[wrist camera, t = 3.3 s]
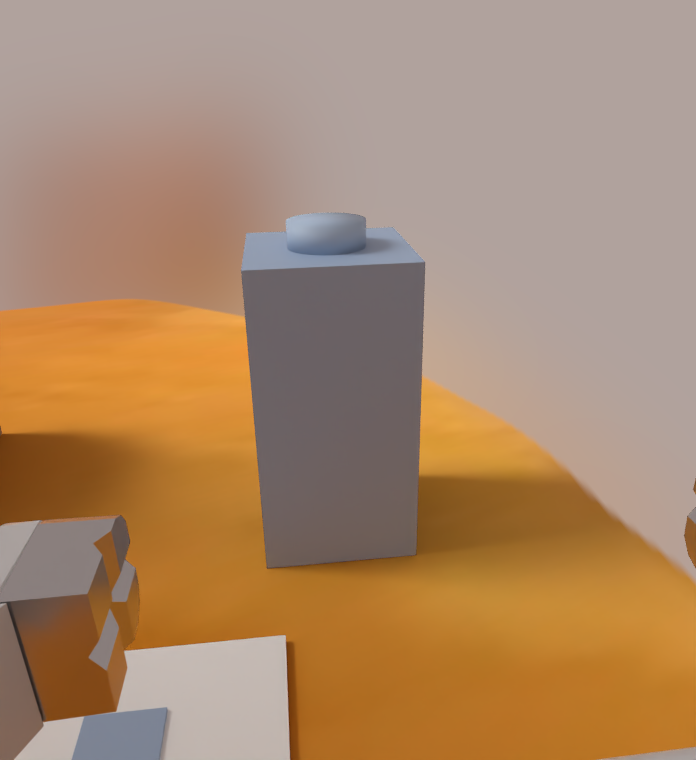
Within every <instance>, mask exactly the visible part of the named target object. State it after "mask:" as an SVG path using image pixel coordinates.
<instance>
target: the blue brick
mask: <svg viewBox="0 0 696 760" xmlns="http://www.w3.org/2000/svg"><path fill="white" fill-rule="evenodd" d="M241 273H242V285H243V297H244V308H245V320H246V332H247V343H248V355H249V366H250V378H251V390H252V401H253V413H254V424H255V436H256V448H257V459H258V471H259V482H260V494H261V505H262V517H263V529H264V540H265V552H266V563H267V568H277V567H289V566H300V565H311V564H322V563H333V562H344V561H355V560H367V559H378V558H389V557H400V556H411V555H416V545H417V513H418V480H419V447H420V415H421V382H422V349H423V317H424V284H425V261H424V260H423V259H422V258H421V257H420V256H419V255H418V254H417V253H416V252H415V251H414V249H413V248H412V247H411V246H410V245H409V244H408V243H407V242H406V241H405V240H404V239H403V238H402V236H400V234H399V233H398V232H397V231H396V230H395V229H394V228H393V227H389V228H366V218H365V217H363V216H360V215H356V214H348V213H313V214H304V215H298V216H294V217H291V218H288V219H287V220H286V232H266V233H247V234H246V241H245V247H244V254H243V262H242V269H241Z"/></svg>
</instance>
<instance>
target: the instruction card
mask: <svg viewBox="0 0 696 760" xmlns="http://www.w3.org/2000/svg"><path fill="white" fill-rule="evenodd" d="M124 653H125V658H126V663H127V667H128V668H127V672H126V675H125V679H124V683H123V687H122V691H121V695H120V699H119V703H118V707H117V711H116V712H111V713H104V714H97V715H90V716H83V717H76V718H69V719H62V720H55V721H48V722H43V725H44V726H43V728H42V729H41V730H40V731H39V732H38V733H37V734H36V735H35V737H34V738H33V739H32V740H31V741H30V742H29V743H28V744H27V746H26V747H25V748H24V749H23V750H22V751H21V752H20V753H19V754H18V756H17V757H16V758H15V759H14V760H290V741H289V712H288V683H287V655H286V635H280V636H270V637H260V638H250V639H240V640H230V641H220V642H210V643H200V644H190V645H180V646H170V647H160V648H150V649H140V650H130V651H124Z"/></svg>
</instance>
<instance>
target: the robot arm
mask: <svg viewBox="0 0 696 760" xmlns="http://www.w3.org/2000/svg"><path fill="white" fill-rule="evenodd" d="M693 490H694V492H695V494H696V480H695V485H694V488H693ZM684 536H685V541H686V546H687V551H688V555H689V557H690V559H691V560H692V562H693V564H694V566H695V568H696V507H695V508H694V509H693V511H692V512H691V513H690V514H689V515H688V516H687V523H686V529H685V535H684ZM129 544H130V538H129V534H128V530H127V526H126V521H125V520H124V519H123V517H122V516H121V515H112V516H97V517H83V518H68V519H53V520H44V521H41V520H37V521H26V522H16V523H6V524H3V525H1V526H0V760H14V759H15V758H16V757H17V756H18V754H19V753H20V752H21V751H22V750H23V749H24V748H25V747H26V746H27V744H28V743H29V742H30V741H31V740H32V739H33V738H34V737H35V735H36V734H37V733H38V732H39V731H40V730H41V729H42V728H43V726H44V725H43V722H48V721H55V720H62V719H69V718H76V717H83V716H90V715H97V714H104V713H111V712H116V711H117V707H118V703H119V699H120V695H121V691H122V687H123V683H124V679H125V675H126V672H127V668H128V667H127V663H126V658H125V653H124V649H125V648H126V647H128V646H129V645H130V644H131V643H132V642H133V641H134V639H135V635H136V631H137V626H138V619H139V605H140V597H139V584H138V578H137V573H136V568H135V567H133V566H132V565H131V564H130V563H129V562H128V561H126V560H125V557H126V554H127V551H128V547H129ZM597 760H696V747H690V748H682V749H674V750H667V751H659V752H651V753H644V754H636V755H628V756H620V757H613V758H605V759H597Z"/></svg>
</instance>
